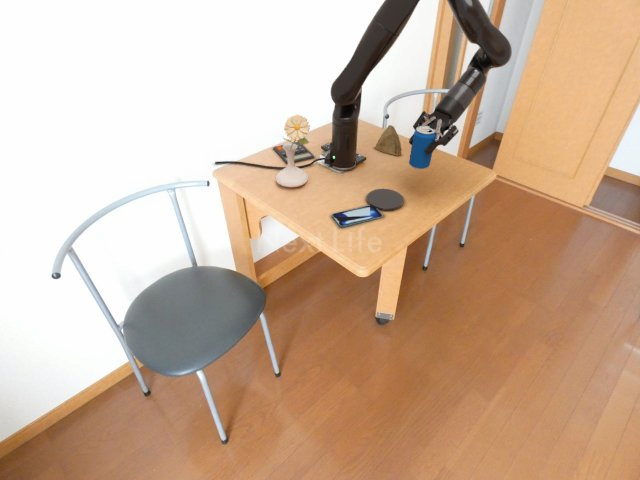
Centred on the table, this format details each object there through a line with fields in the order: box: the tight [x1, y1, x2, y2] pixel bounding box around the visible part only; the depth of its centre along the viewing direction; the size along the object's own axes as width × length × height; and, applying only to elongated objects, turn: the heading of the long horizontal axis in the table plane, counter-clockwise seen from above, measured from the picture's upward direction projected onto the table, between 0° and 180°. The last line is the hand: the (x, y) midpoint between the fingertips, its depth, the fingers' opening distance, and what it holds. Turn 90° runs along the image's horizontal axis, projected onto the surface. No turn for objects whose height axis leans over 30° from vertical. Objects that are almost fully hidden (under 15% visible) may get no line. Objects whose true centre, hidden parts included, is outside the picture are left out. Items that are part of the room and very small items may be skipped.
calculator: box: [273, 141, 315, 165], centre depth 150 cm, size 12×1×15 cm
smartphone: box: [331, 204, 384, 229], centre depth 116 cm, size 7×1×15 cm
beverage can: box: [408, 125, 436, 171], centre depth 114 cm, size 6×6×12 cm
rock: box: [374, 124, 402, 157], centre depth 149 cm, size 11×9×10 cm
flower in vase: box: [275, 113, 311, 189], centre depth 124 cm, size 13×11×25 cm
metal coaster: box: [366, 188, 404, 212], centre depth 123 cm, size 12×12×1 cm
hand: (418, 148), depth 113 cm, fingers closed on beverage can, 6 cm apart
